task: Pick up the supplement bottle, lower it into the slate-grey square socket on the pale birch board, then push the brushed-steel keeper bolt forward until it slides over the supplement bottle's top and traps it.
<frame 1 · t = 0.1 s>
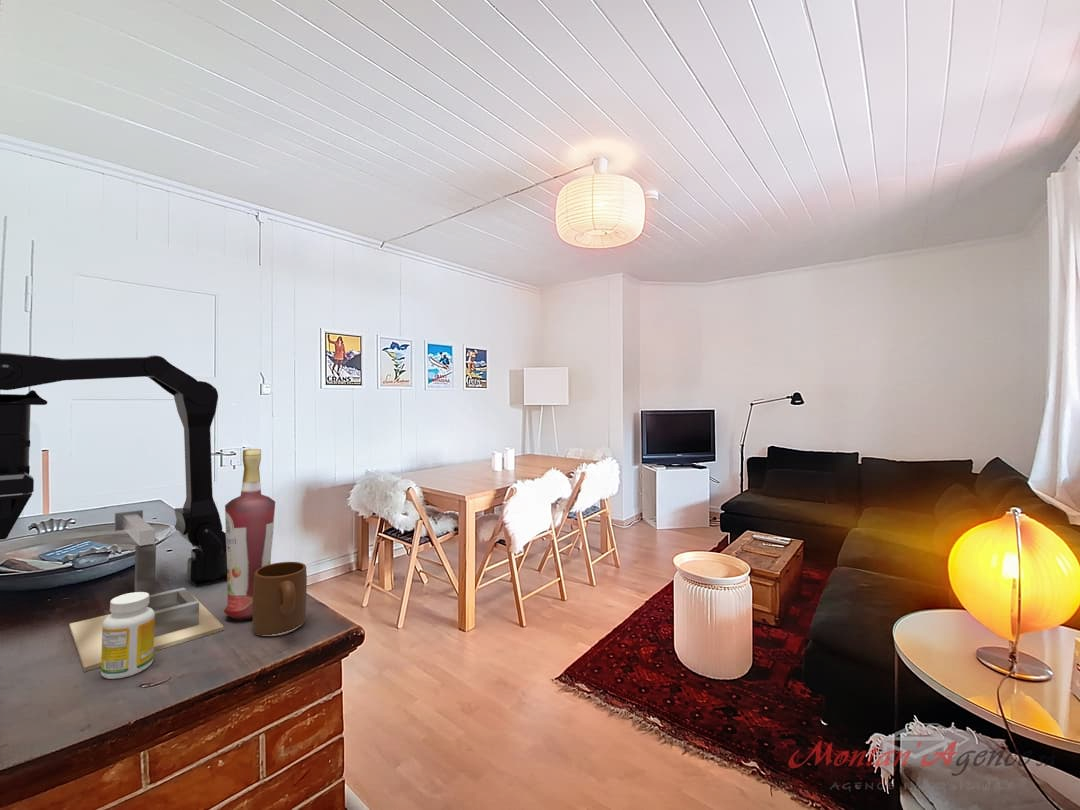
hand: (0, 533, 75), 15 cm above the counter, tool pointing down, fingers open, 9 cm apart
socket board: (146, 629, 75), on the counter
keeper bolt: (137, 528, 86), point 13 cm above the counter, slide at 0.0 cm
liquor: (248, 615, 81), on the counter
supplement bottle: (127, 670, 64), on the counter
mug: (281, 633, 75), on the counter
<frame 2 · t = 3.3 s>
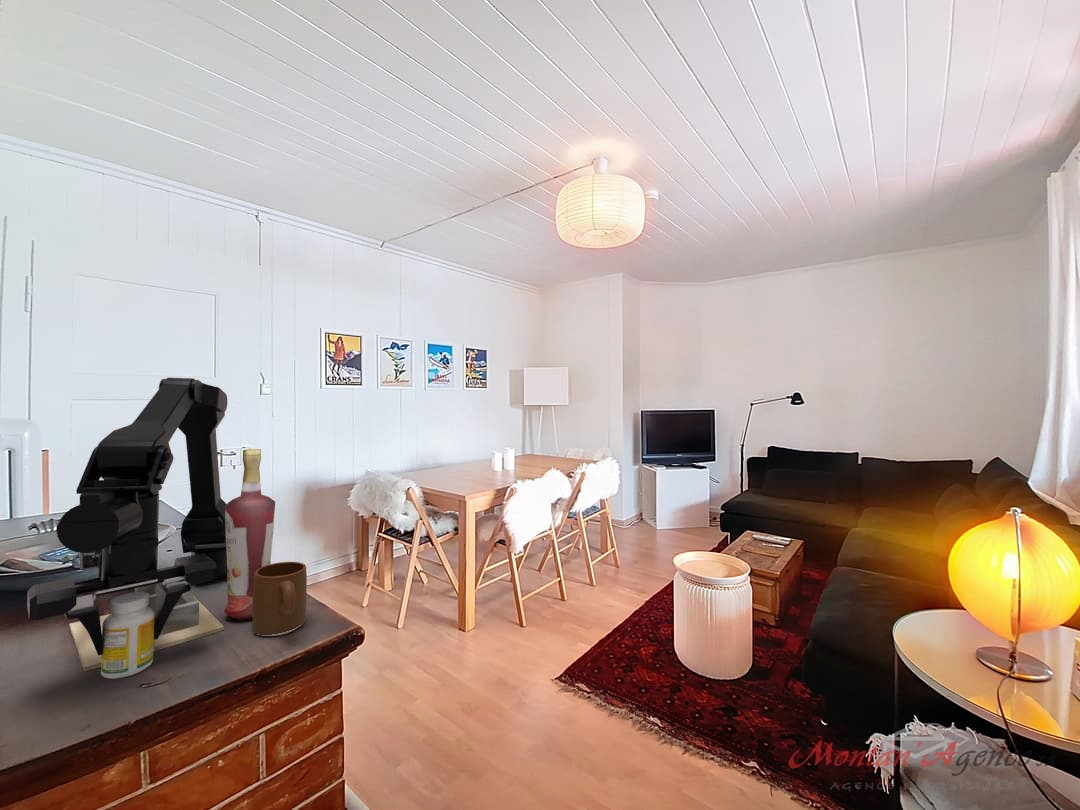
hand: (128, 646, 64), 3 cm above the counter, tool pointing down, fingers closed on supplement bottle, 5 cm apart
supplement bottle: (127, 669, 64), on the counter, touching gripper
everything else where it was.
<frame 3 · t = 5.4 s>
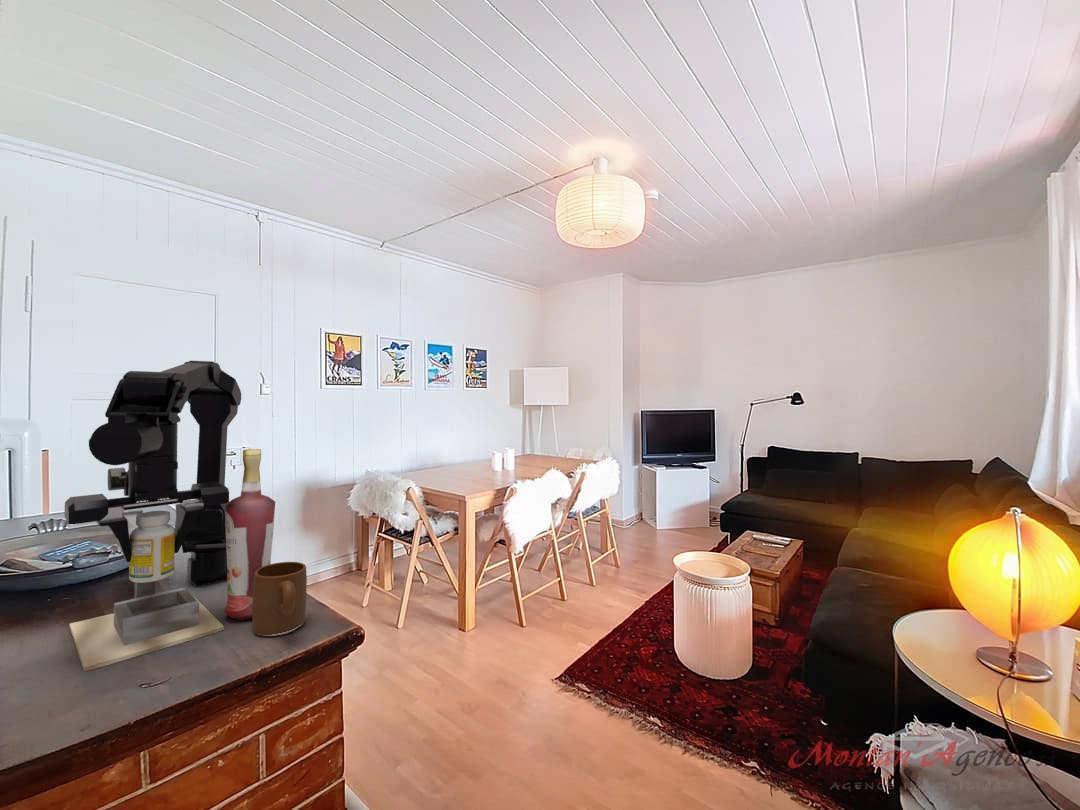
hand: (152, 556, 72), 12 cm above the counter, tool pointing down, fingers closed on supplement bottle, 5 cm apart
supplement bottle: (152, 577, 72), point 9 cm above the counter, touching gripper
everything else where it was.
when the fingers open (5 cm above the counter, at t = 7.5 s): supplement bottle drops 1 cm, resting on socket board.
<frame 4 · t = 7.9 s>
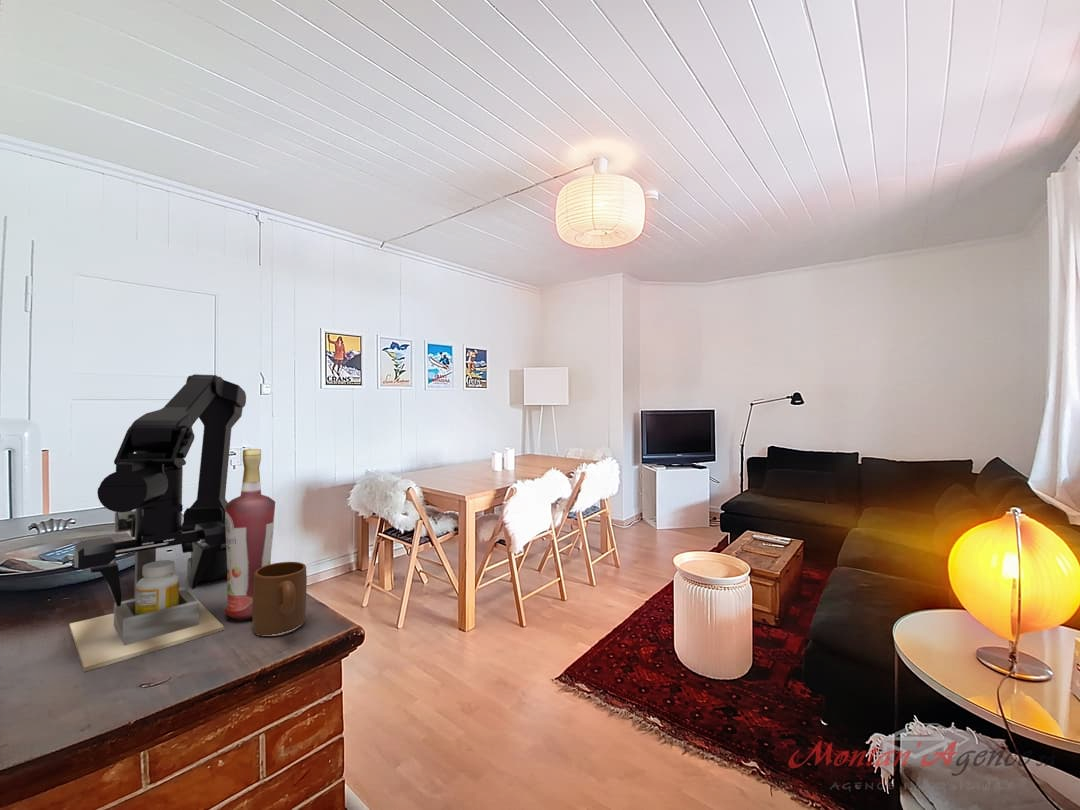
hand: (157, 596, 75), 5 cm above the counter, tool pointing down, fingers open, 9 cm apart
supplement bottle: (156, 626, 75), resting on socket board
everything else where it was.
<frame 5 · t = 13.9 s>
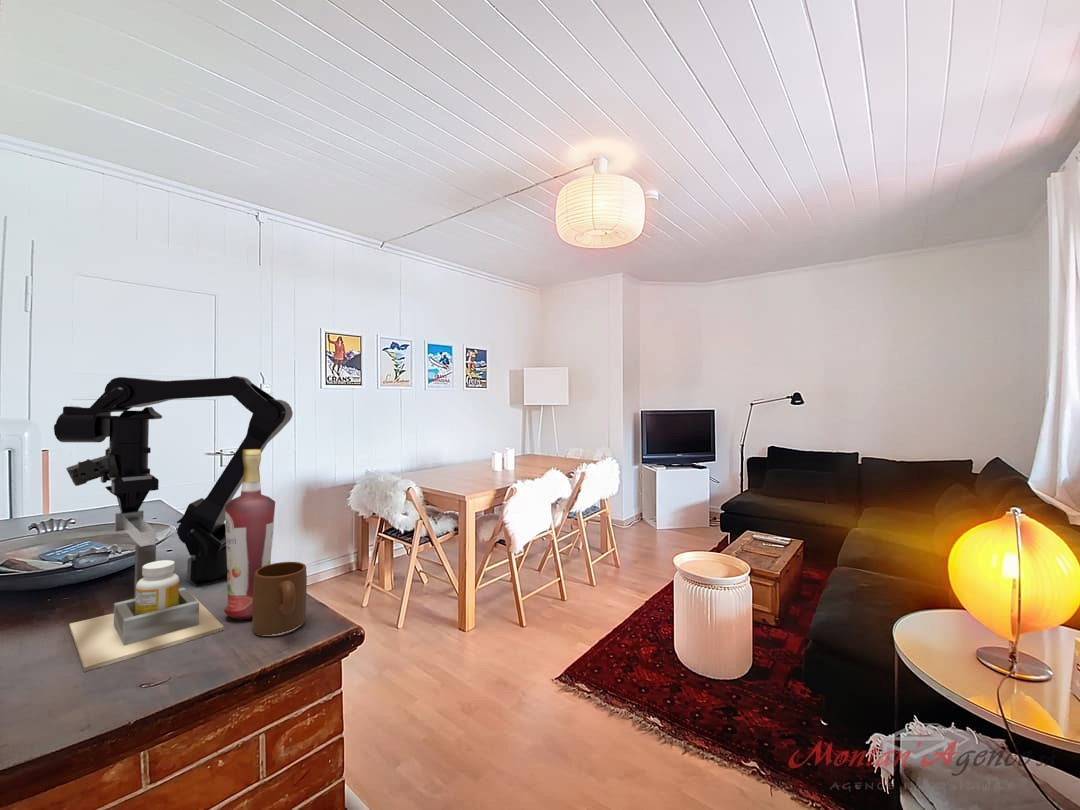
hand: (127, 523, 92), 12 cm above the counter, tool pointing down, fingers closed
keeper bolt: (137, 528, 85), point 13 cm above the counter, slide at 0.6 cm, touching gripper
everything else where it was.
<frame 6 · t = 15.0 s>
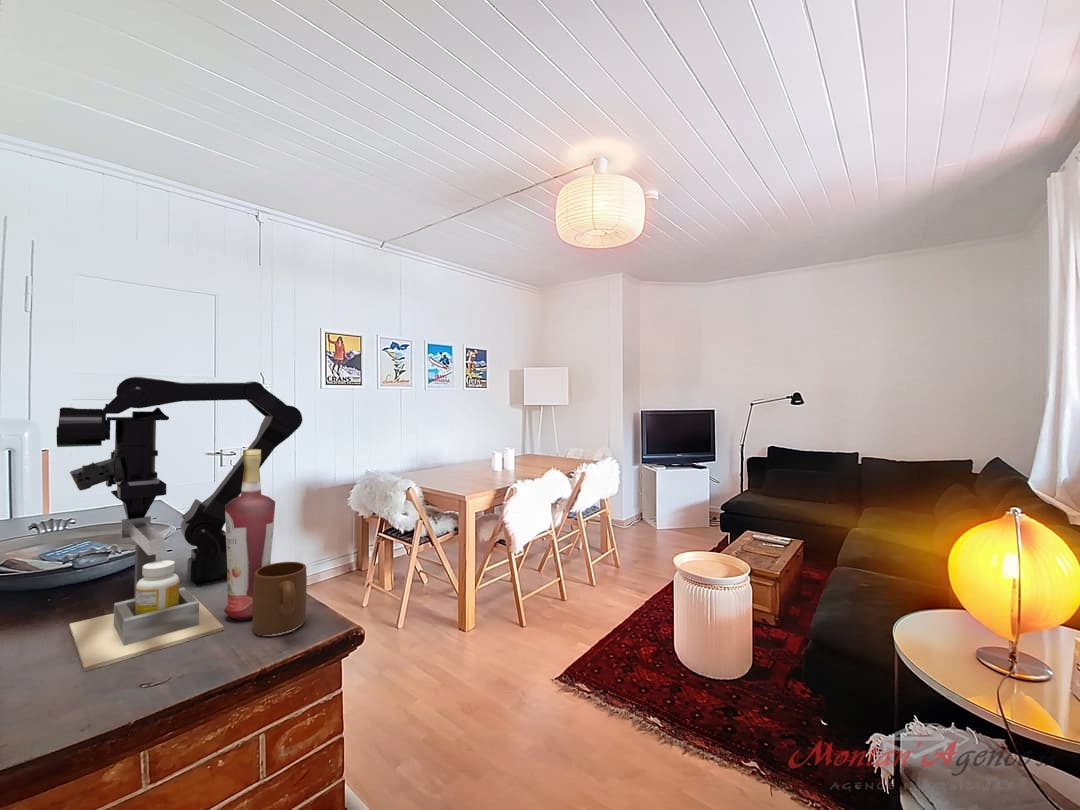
hand: (133, 529, 88), 12 cm above the counter, tool pointing down, fingers closed
keeper bolt: (145, 535, 81), point 13 cm above the counter, slide at 6.9 cm, touching gripper
everything else where it was.
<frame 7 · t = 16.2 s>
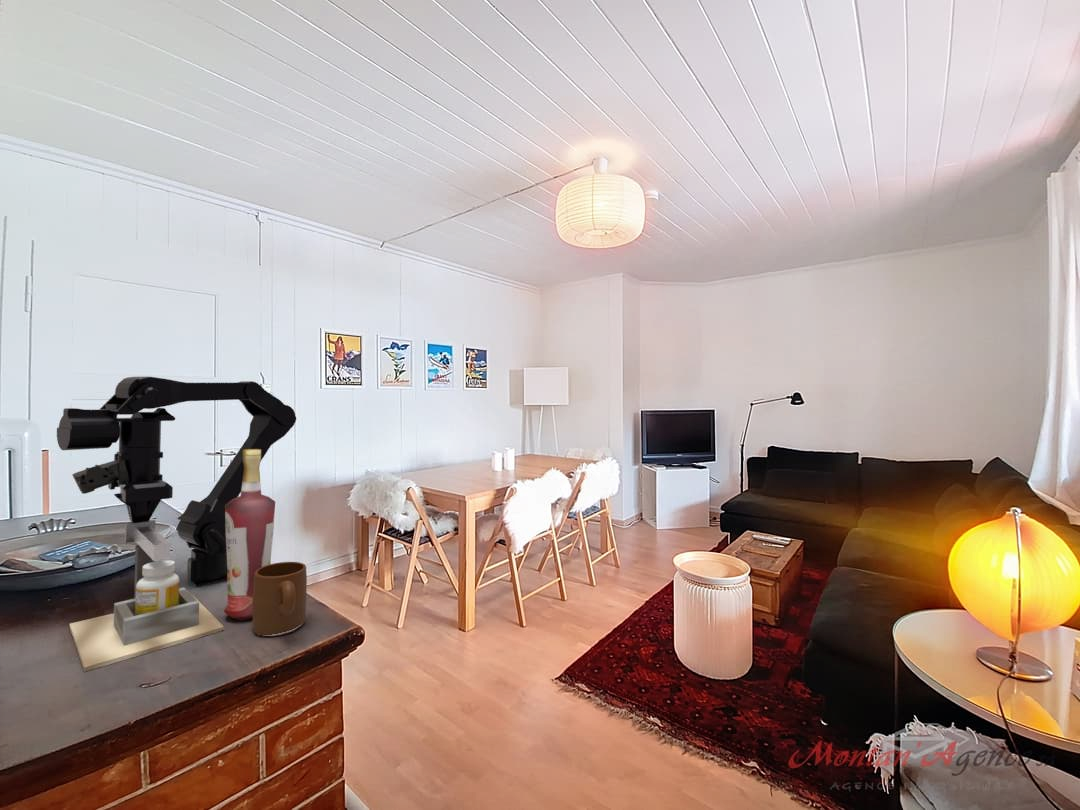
hand: (138, 533, 85), 12 cm above the counter, tool pointing down, fingers closed
keeper bolt: (150, 540, 79), point 13 cm above the counter, slide at 10.8 cm, touching gripper
everything else where it was.
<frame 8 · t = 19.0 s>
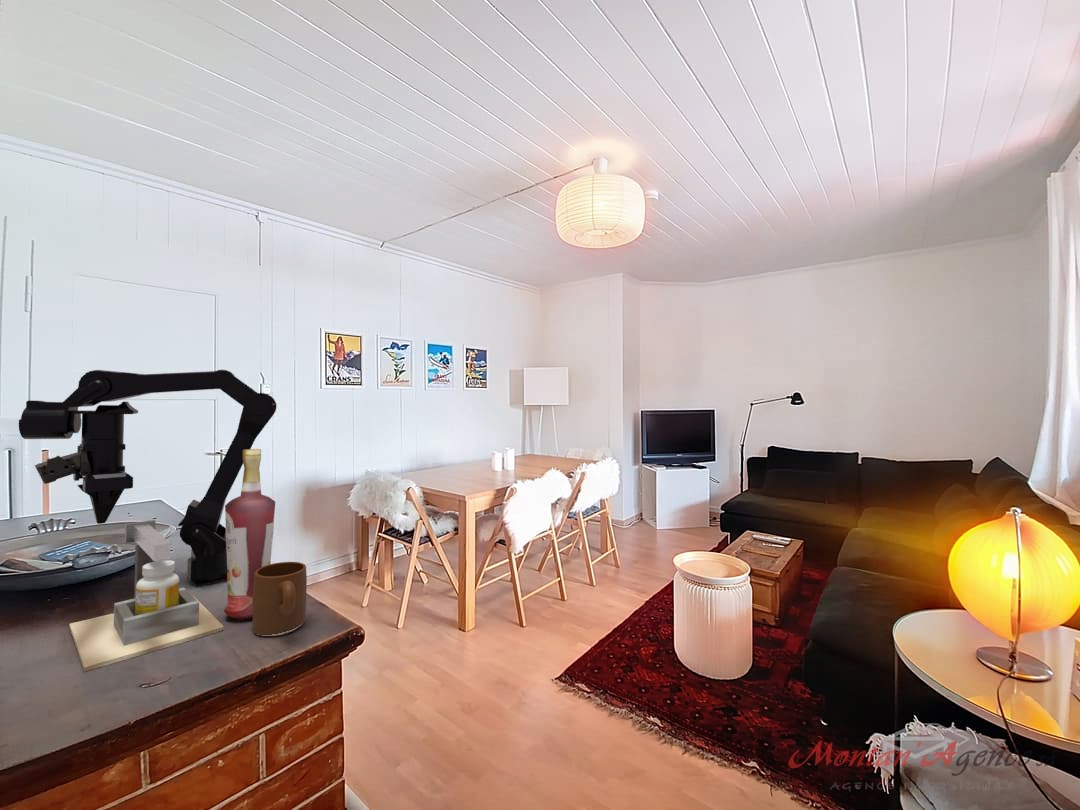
hand: (101, 523, 88), 13 cm above the counter, tool pointing down, fingers closed
keeper bolt: (150, 540, 79), point 13 cm above the counter, slide at 10.8 cm
everything else where it was.
at the end: supplement bottle 0.1 cm from the target spot, resting on socket board; supplement bottle tilted 0°; keeper bolt slide at 10.8 cm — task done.
